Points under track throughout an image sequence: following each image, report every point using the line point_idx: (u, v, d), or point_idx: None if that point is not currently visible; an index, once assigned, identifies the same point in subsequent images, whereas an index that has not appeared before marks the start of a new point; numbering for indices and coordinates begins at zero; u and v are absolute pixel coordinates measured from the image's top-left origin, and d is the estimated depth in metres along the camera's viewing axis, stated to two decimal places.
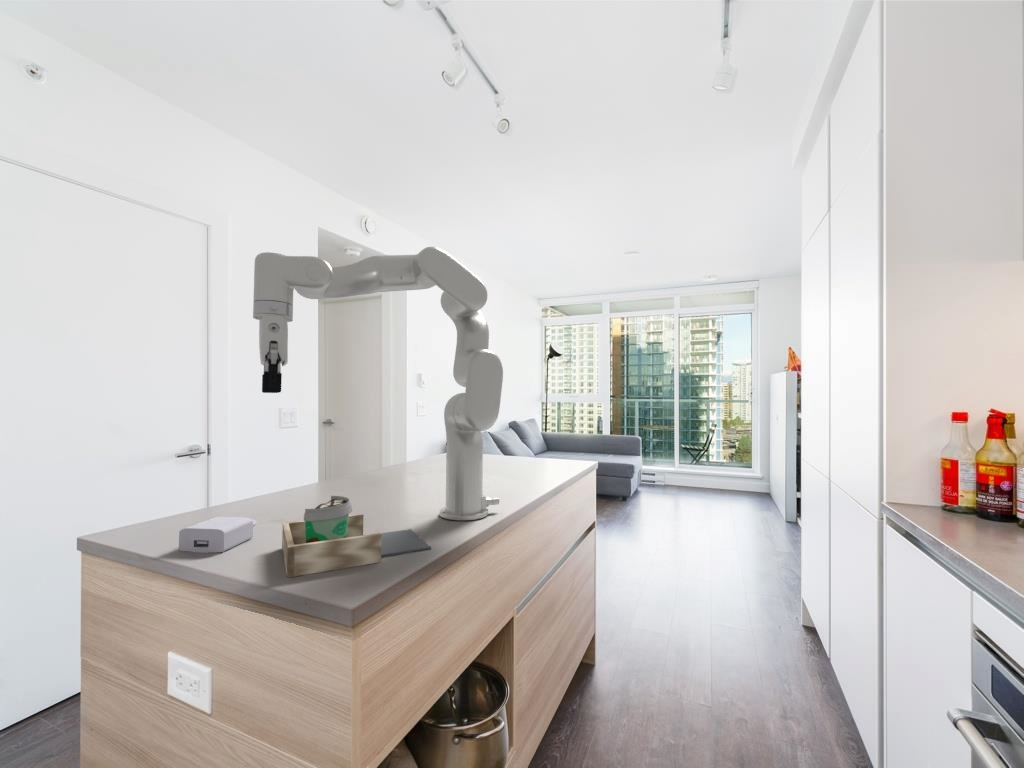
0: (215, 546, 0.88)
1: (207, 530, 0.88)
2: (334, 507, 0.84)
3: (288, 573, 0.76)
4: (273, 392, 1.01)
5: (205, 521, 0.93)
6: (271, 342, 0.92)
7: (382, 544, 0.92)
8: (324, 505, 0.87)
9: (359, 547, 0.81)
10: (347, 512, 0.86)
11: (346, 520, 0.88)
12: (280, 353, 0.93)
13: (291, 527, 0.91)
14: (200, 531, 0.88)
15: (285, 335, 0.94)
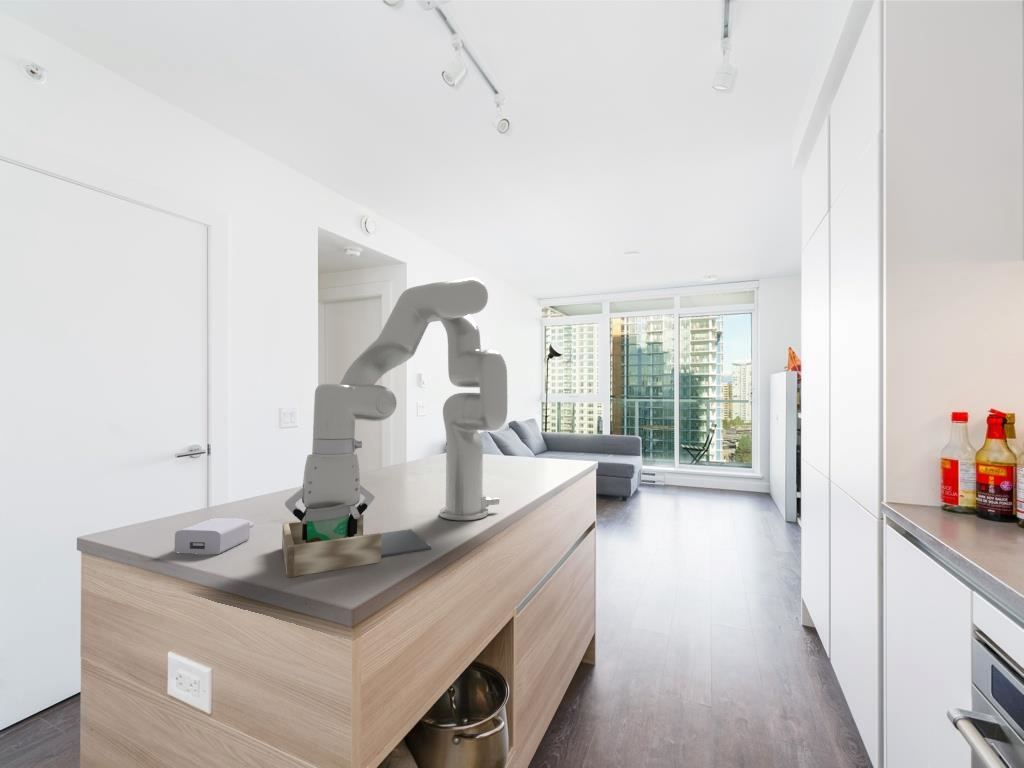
0: (212, 548, 0.87)
1: (203, 532, 0.87)
2: (335, 507, 0.84)
3: (288, 573, 0.76)
4: None
5: (201, 522, 0.92)
6: None
7: (382, 544, 0.92)
8: None
9: (359, 547, 0.81)
10: (348, 512, 0.87)
11: (347, 520, 0.88)
12: None
13: (291, 527, 0.91)
14: (196, 533, 0.87)
15: None
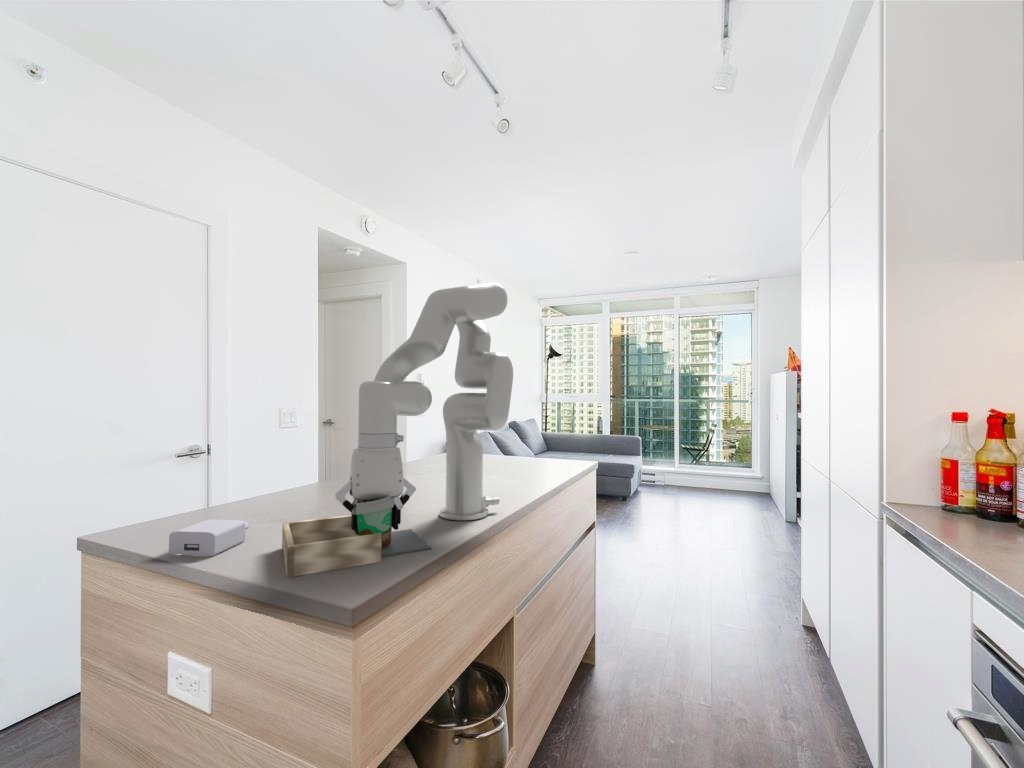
0: (206, 550, 0.86)
1: (198, 533, 0.86)
2: (382, 499, 0.89)
3: (288, 573, 0.76)
4: None
5: (196, 524, 0.91)
6: None
7: None
8: None
9: (359, 547, 0.81)
10: (393, 503, 0.91)
11: (391, 511, 0.92)
12: None
13: (291, 527, 0.91)
14: (190, 534, 0.86)
15: None
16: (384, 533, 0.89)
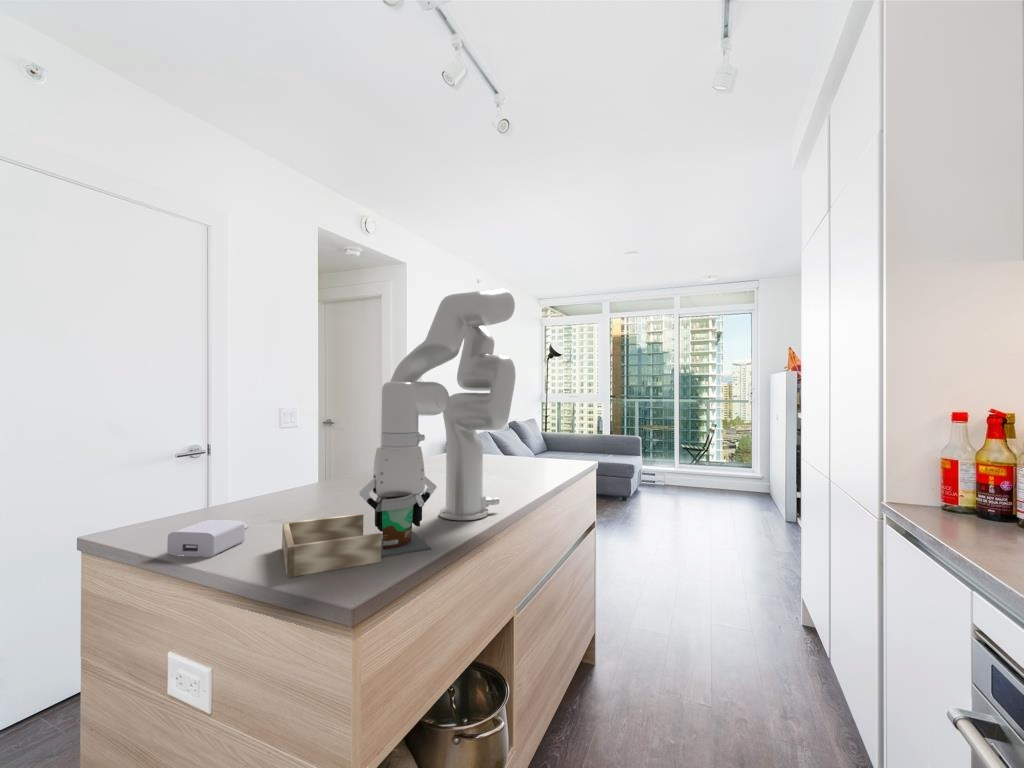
0: (205, 550, 0.85)
1: (196, 534, 0.85)
2: (406, 497, 0.91)
3: (288, 573, 0.76)
4: None
5: (195, 524, 0.91)
6: None
7: (382, 544, 0.92)
8: None
9: (359, 547, 0.81)
10: (415, 501, 0.93)
11: None
12: None
13: (291, 527, 0.91)
14: (189, 535, 0.85)
15: None
16: (406, 530, 0.92)
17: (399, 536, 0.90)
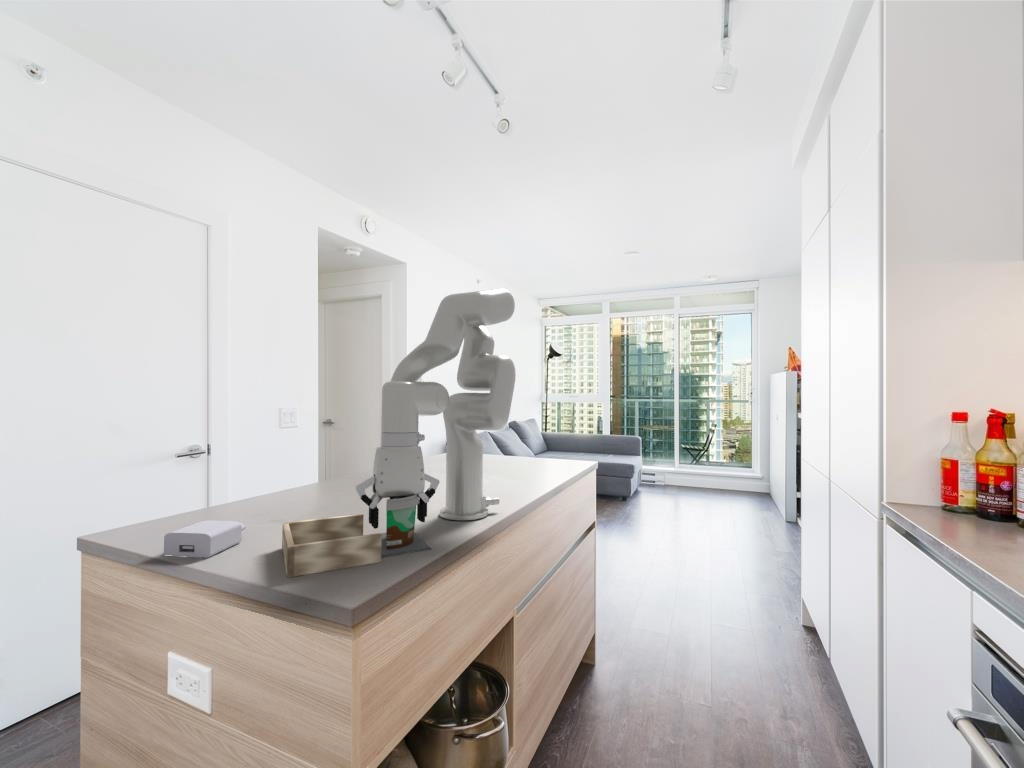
0: (202, 551, 0.85)
1: (193, 534, 0.85)
2: (410, 497, 0.91)
3: (288, 573, 0.76)
4: None
5: (192, 525, 0.90)
6: None
7: (382, 544, 0.92)
8: None
9: (359, 547, 0.81)
10: (418, 501, 0.94)
11: None
12: None
13: (291, 527, 0.91)
14: (186, 535, 0.85)
15: None
16: (410, 530, 0.92)
17: (402, 536, 0.90)
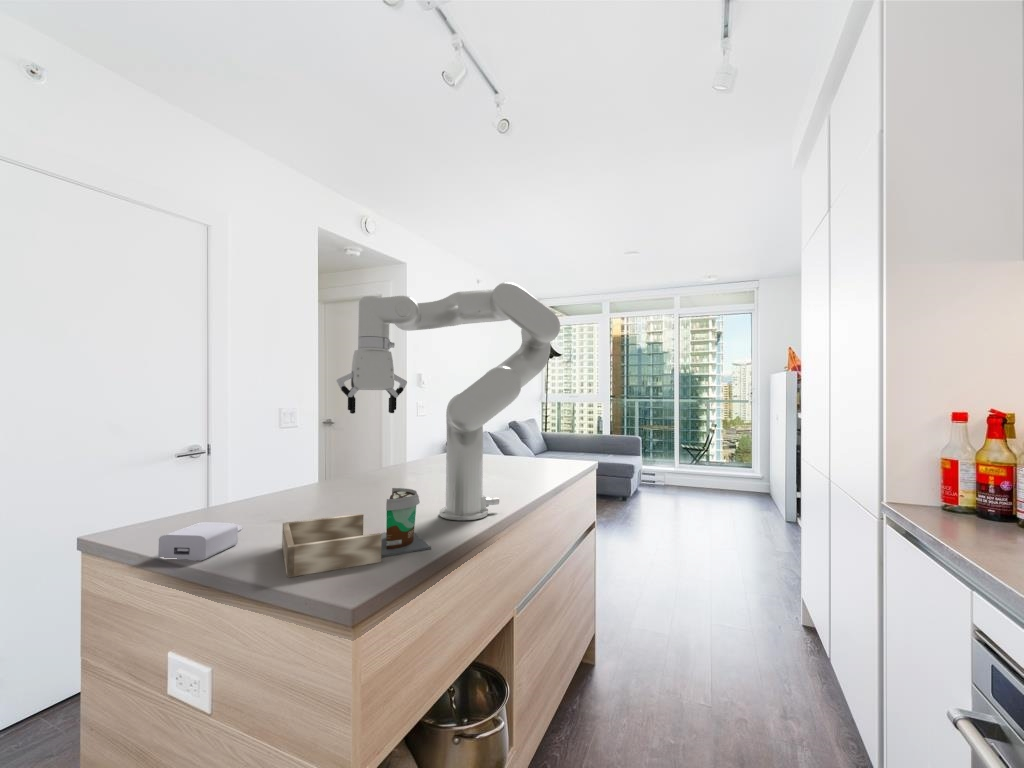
0: (197, 553, 0.83)
1: (188, 537, 0.84)
2: (410, 497, 0.91)
3: (288, 573, 0.76)
4: None
5: (187, 527, 0.89)
6: None
7: (382, 544, 0.92)
8: (395, 496, 0.94)
9: (359, 547, 0.81)
10: (418, 501, 0.94)
11: None
12: None
13: (291, 527, 0.91)
14: (181, 538, 0.84)
15: None
16: (410, 530, 0.92)
17: (402, 536, 0.90)
